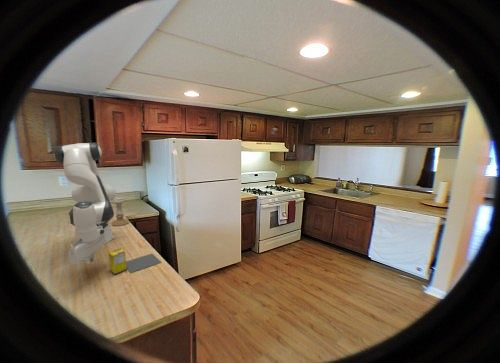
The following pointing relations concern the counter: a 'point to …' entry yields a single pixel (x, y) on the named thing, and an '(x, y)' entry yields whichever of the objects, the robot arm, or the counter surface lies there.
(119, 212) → the candle holder
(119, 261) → the supplement box
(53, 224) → the counter surface
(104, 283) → the counter surface
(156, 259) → the mat
